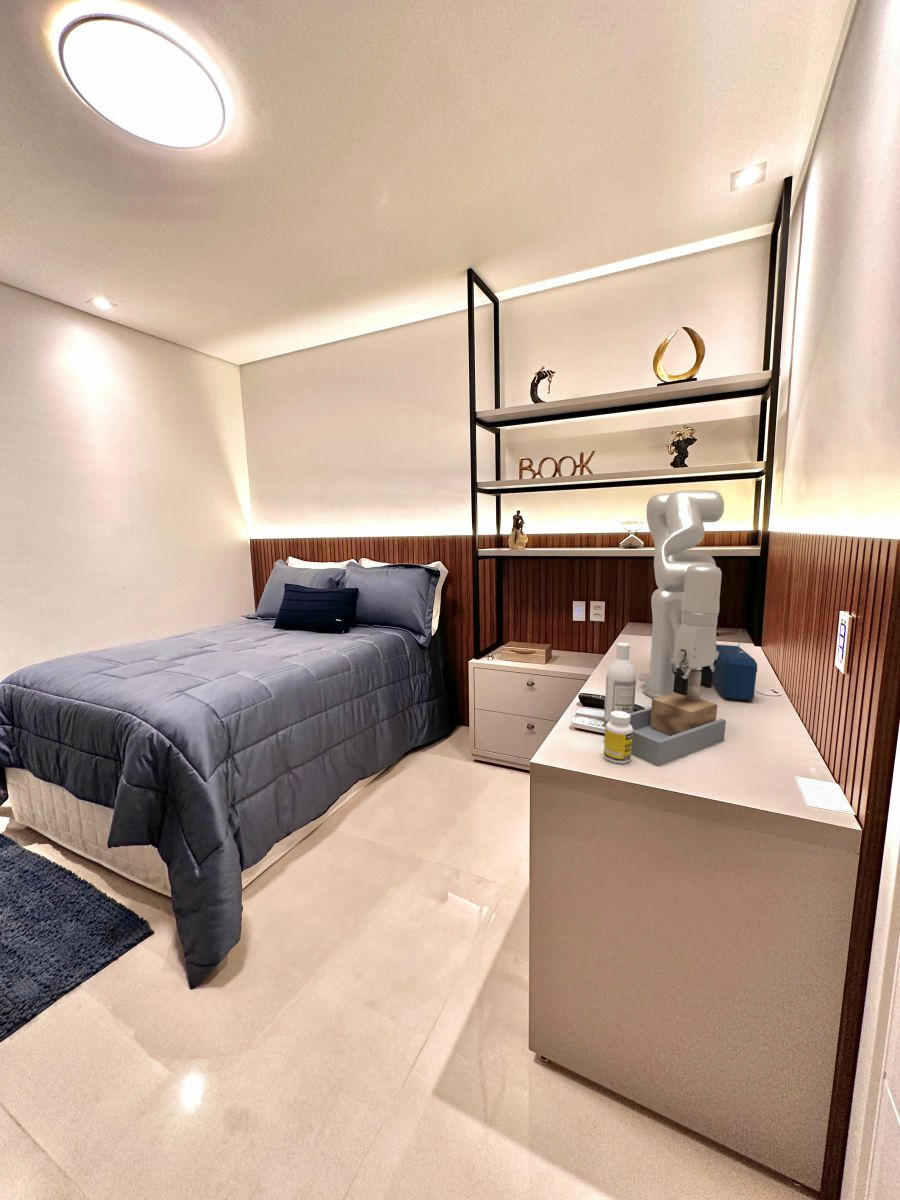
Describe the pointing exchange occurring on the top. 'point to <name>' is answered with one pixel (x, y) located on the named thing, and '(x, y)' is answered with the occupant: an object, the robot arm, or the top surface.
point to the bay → (670, 739)
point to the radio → (735, 673)
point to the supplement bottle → (618, 738)
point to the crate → (682, 709)
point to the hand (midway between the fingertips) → (692, 690)
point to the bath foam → (620, 683)
